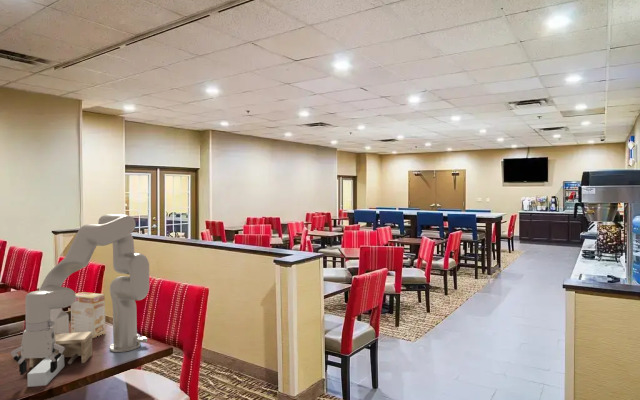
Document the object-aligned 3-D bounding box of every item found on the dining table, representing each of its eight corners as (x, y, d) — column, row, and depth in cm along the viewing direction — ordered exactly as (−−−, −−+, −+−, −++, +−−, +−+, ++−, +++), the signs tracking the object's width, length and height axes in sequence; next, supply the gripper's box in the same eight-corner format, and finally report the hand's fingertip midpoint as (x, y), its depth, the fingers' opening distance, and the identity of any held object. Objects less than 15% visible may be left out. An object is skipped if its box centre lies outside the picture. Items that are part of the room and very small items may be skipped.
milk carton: (56, 353, 178) (55, 310, 177) (42, 352, 179) (41, 309, 179) (69, 347, 185) (68, 305, 184) (55, 346, 186) (54, 304, 186)
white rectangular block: (64, 367, 166) (64, 354, 166) (46, 385, 150) (45, 372, 150) (47, 368, 164) (47, 355, 164) (27, 387, 149) (27, 373, 149)
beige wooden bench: (92, 353, 178) (91, 331, 177) (84, 362, 169) (84, 339, 168) (40, 358, 174) (39, 335, 173) (29, 367, 165) (29, 343, 164)
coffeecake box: (106, 333, 202) (105, 293, 202) (93, 338, 196) (92, 297, 195) (83, 329, 208) (82, 291, 207) (70, 334, 201) (69, 294, 201)
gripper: (68, 321, 156) (68, 366, 157) (16, 323, 153) (16, 370, 153) (60, 327, 149) (60, 374, 149) (5, 330, 145) (6, 379, 146)
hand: (38, 372), depth 151 cm, fingers open, 9 cm apart
